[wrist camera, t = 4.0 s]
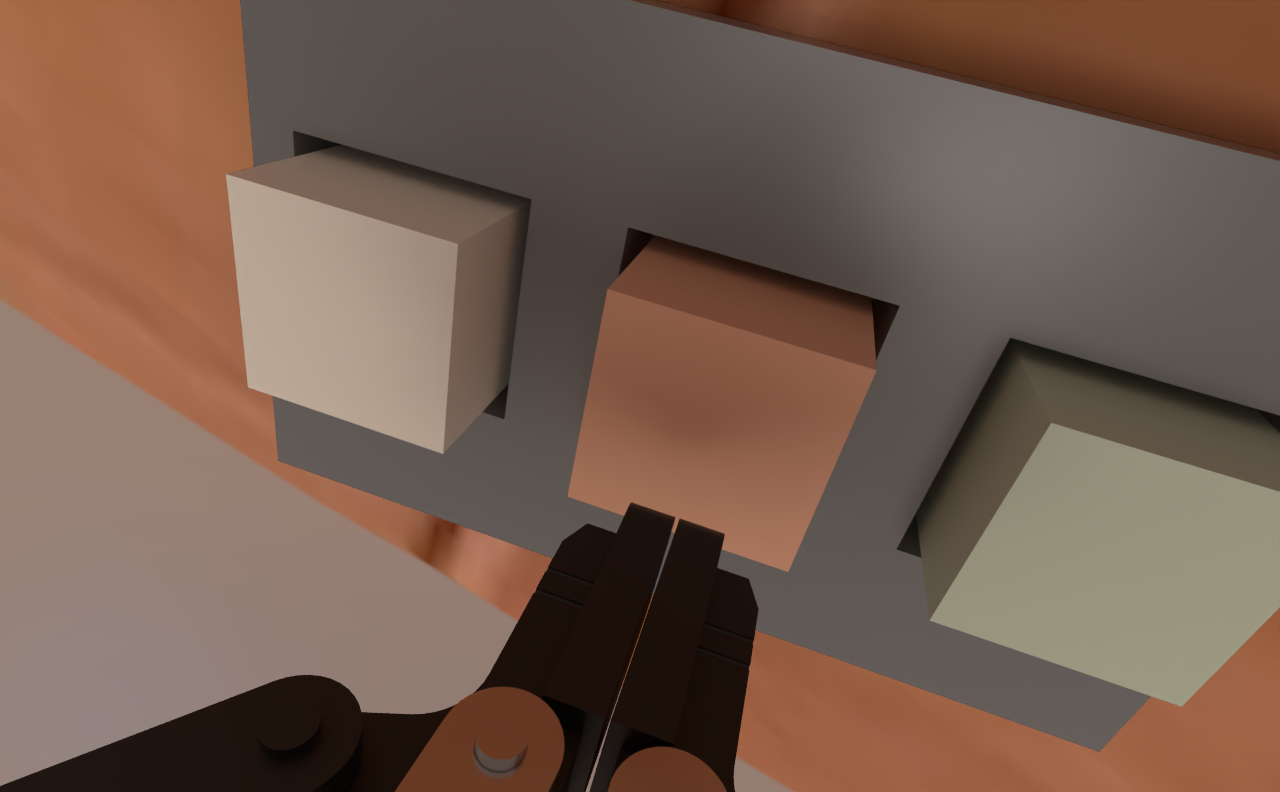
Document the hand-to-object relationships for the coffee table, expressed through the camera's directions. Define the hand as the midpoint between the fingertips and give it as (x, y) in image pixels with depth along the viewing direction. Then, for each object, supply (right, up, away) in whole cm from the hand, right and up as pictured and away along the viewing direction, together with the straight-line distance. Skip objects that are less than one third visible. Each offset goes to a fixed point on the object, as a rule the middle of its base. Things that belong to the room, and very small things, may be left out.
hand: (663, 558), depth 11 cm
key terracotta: (+2, +4, +6) cm, 8 cm away
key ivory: (-6, +6, +7) cm, 11 cm away
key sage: (+10, +1, +5) cm, 11 cm away
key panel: (+2, +4, +8) cm, 9 cm away
